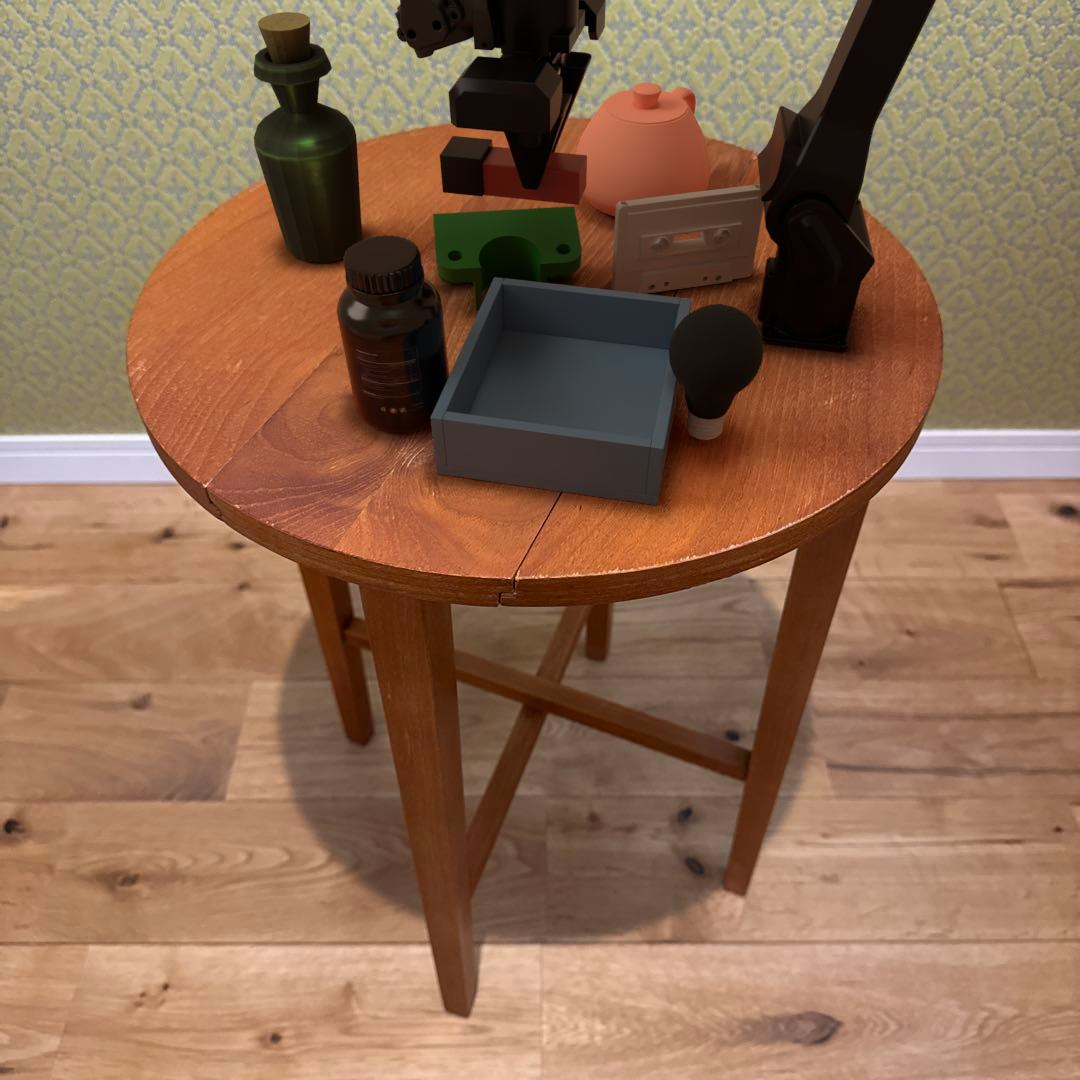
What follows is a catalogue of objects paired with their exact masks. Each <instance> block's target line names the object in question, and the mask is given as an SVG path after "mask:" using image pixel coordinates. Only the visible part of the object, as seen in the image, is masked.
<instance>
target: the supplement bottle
mask: <svg viewBox="0 0 1080 1080" xmlns="http://www.w3.org/2000/svg"><path fill="white" fill-rule="evenodd" d="M343 267H344V272H345V275H344V277H345V279H344V280H345V284H346V287H345V288H344V289H343V290H342V292H341V294H340V296H339V298H338V301H337V305H336V313H337V314H336V316H337V321H338V326H339V332H340V336H341V342H342V347H343V351H344V356H345V362H346V367H347V373H348V377H349V382H350V386H351V387H350V388H351V391H352V392H351V393H352V396H353V401H354V406H355V409H356V411H357V413H358V415H359V417H360V418H361V419H362V420H363V421H364V423H367V424H368V425H370V426H371V427H372V428H375V429H377V430H381V431H384V432H388V433H399V434H400V433H411V432H415V431H419V430H423V429H425V428H428V427H429V426H431V415H432V413H433V411H434V409H435V407H436V404H437V402H438V400H439V398H440V396H441V393H442V391H443V389H444V387H445V385H446V382H447V380H448V378H449V376H450V366H449V357H448V348H447V340H446V339H447V338H446V329H445V320H444V309H443V302H442V298H441V295H440V293H439V291H438V289H437V288H436V287H435V285H434V284H433V283H432V282H431V281H430V280H428V278H426V277H425V268H424V266H423V264H422V256H421V251H420V249H419V246H418V245H417V244H416V243H415V242H414V241H412V240H411V239H407V237H402V236H400V235H393V234H383V235H381V234H379V235H375V236H369V237H365V238H362V240H360V241H357V242H356V243H355V244H352V246H351V247H349V248H348V250H347V251H345V255H344V258H343Z"/></svg>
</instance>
